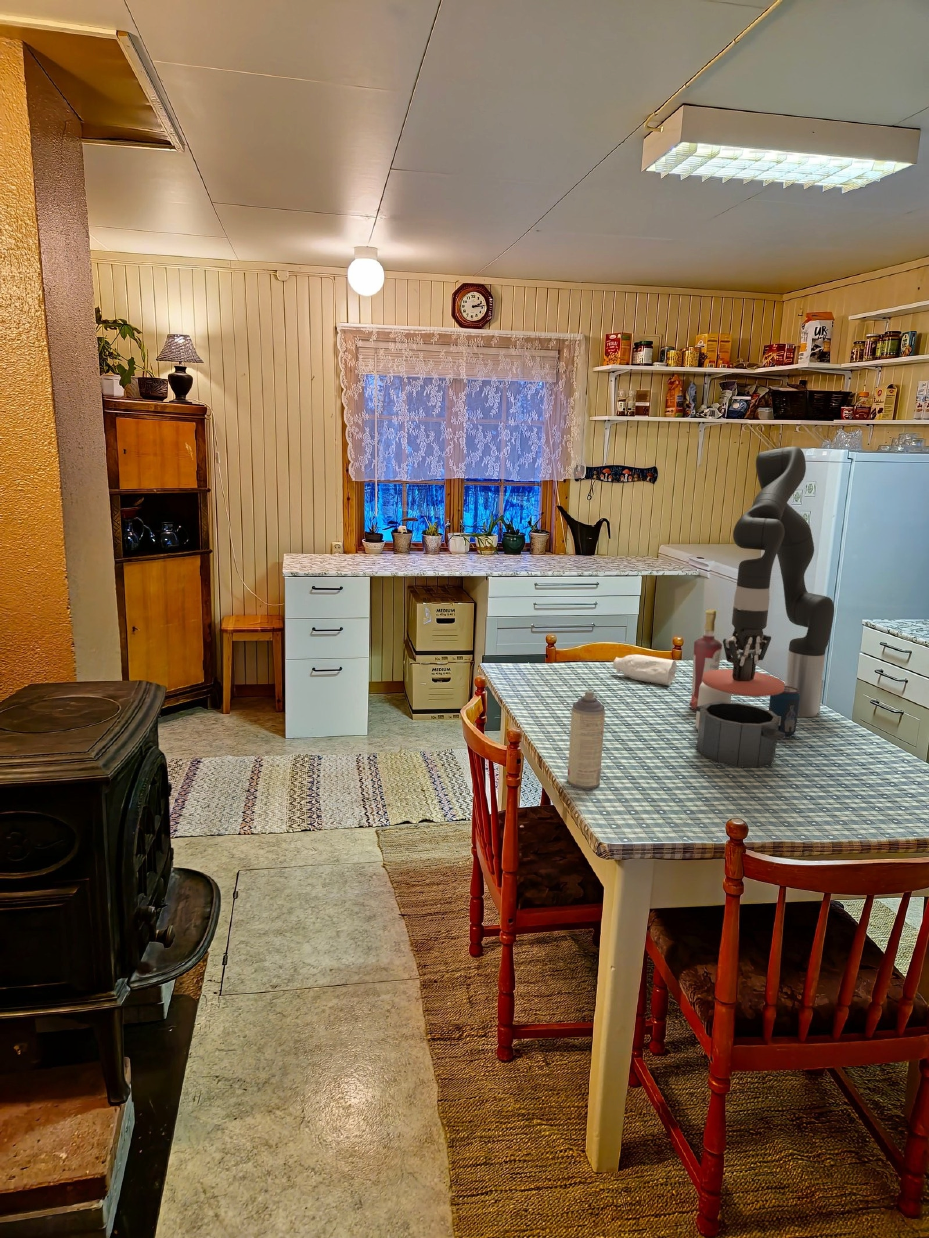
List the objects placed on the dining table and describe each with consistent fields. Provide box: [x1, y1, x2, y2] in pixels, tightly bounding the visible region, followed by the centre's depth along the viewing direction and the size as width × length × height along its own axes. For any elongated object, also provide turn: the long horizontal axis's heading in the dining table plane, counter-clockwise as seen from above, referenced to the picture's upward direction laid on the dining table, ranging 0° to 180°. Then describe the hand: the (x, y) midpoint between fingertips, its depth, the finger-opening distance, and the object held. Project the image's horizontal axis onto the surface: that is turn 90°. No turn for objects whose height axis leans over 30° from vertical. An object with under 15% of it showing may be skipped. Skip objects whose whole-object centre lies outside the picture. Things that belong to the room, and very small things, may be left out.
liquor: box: [689, 609, 723, 712], centre depth 220 cm, size 7×7×28 cm
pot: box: [695, 701, 786, 769], centre depth 189 cm, size 17×23×10 cm
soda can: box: [768, 686, 800, 739], centre depth 204 cm, size 7×7×12 cm
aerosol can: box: [566, 690, 606, 790], centre depth 168 cm, size 7×7×20 cm
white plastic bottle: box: [612, 654, 677, 687], centre depth 250 cm, size 8×19×8 cm, turn 58°
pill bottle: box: [694, 682, 733, 730], centre depth 205 cm, size 8×8×15 cm
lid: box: [702, 656, 785, 698], centre depth 186 cm, size 18×18×7 cm
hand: (743, 679), depth 187 cm, fingers closed on lid, 3 cm apart
